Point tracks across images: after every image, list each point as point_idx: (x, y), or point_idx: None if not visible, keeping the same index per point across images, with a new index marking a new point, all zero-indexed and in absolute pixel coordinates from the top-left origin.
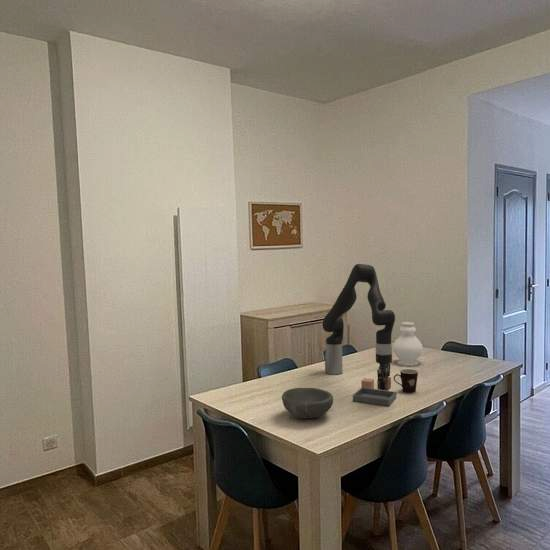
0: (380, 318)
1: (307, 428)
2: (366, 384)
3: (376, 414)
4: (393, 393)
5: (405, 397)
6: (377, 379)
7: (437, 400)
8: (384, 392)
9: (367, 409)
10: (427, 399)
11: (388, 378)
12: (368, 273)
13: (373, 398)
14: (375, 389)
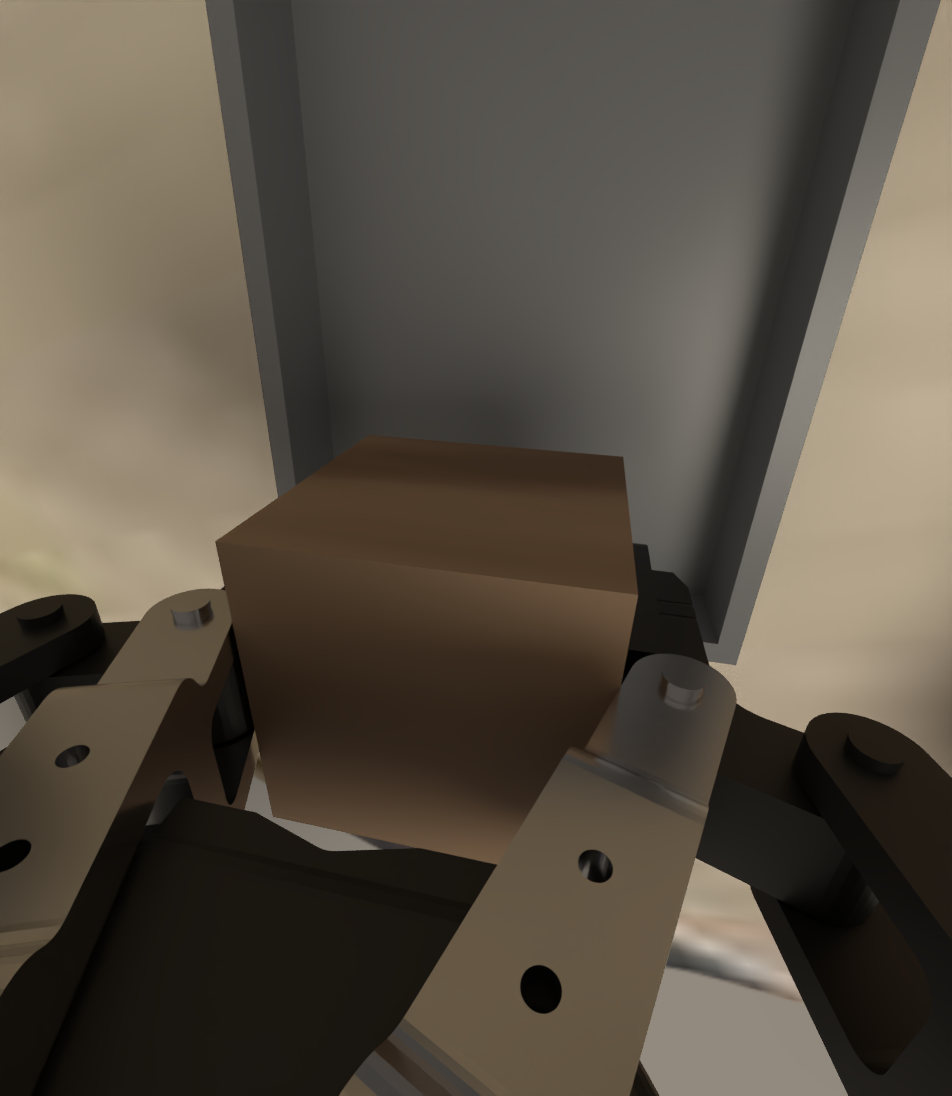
0: None
1: None
2: None
3: (38, 470)
4: (717, 611)
5: (778, 707)
6: (224, 537)
7: (735, 953)
8: (757, 458)
9: (95, 321)
10: (749, 892)
11: (443, 831)
12: None
13: (261, 364)
14: (846, 243)
